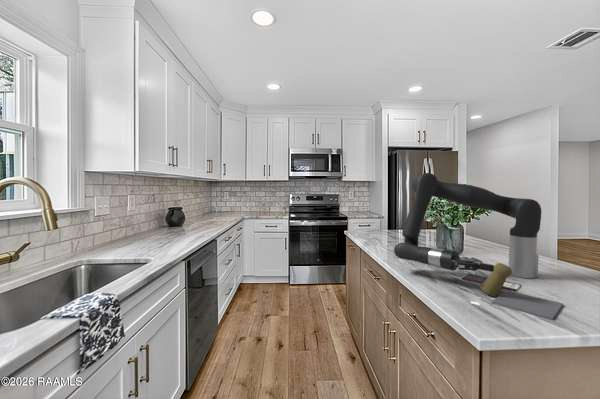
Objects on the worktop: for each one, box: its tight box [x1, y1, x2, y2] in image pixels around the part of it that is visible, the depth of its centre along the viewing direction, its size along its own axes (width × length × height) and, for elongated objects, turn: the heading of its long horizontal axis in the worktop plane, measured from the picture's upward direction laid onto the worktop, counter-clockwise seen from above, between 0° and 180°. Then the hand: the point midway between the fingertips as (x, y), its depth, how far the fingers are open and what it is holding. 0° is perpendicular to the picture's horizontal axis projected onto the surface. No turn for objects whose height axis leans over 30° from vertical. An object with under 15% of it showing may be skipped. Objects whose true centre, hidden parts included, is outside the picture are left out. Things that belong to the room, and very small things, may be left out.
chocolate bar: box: [461, 273, 522, 292], centre depth 112 cm, size 9×1×18 cm
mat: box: [491, 289, 564, 321], centre depth 91 cm, size 15×16×1 cm
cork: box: [479, 262, 512, 298], centre depth 97 cm, size 6×6×11 cm
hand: (493, 268), depth 98 cm, fingers closed
